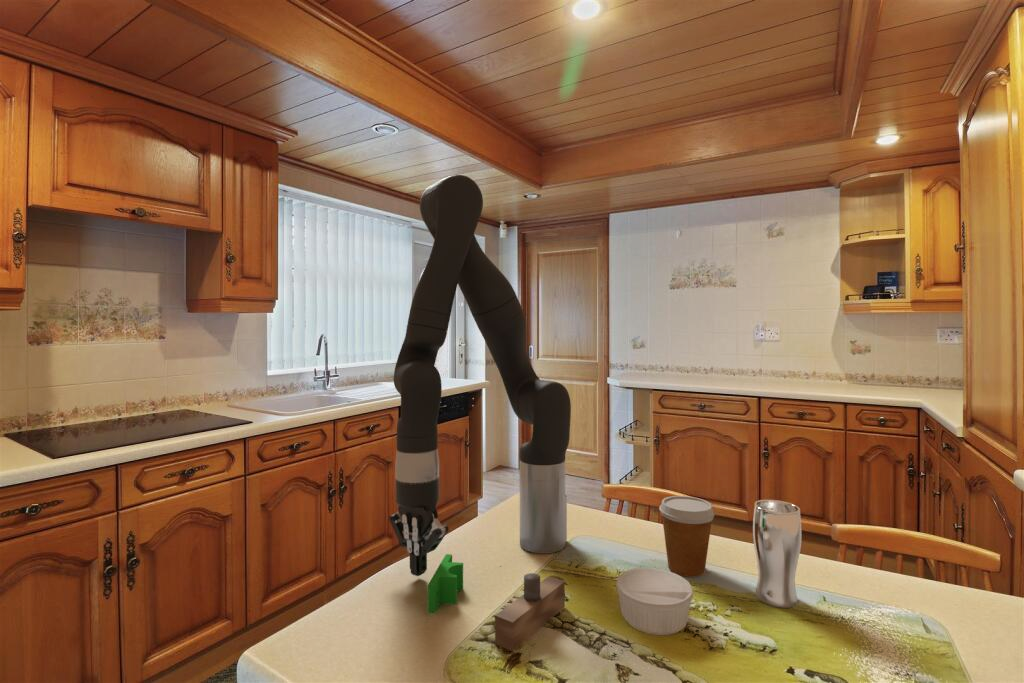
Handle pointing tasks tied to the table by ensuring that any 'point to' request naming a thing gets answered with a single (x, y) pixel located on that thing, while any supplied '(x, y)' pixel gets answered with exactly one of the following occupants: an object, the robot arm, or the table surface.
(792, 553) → the beer glass
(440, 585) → the pipe clamp
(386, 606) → the table surface
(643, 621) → the ramekin
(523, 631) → the bar
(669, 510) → the disposable coffee cup
